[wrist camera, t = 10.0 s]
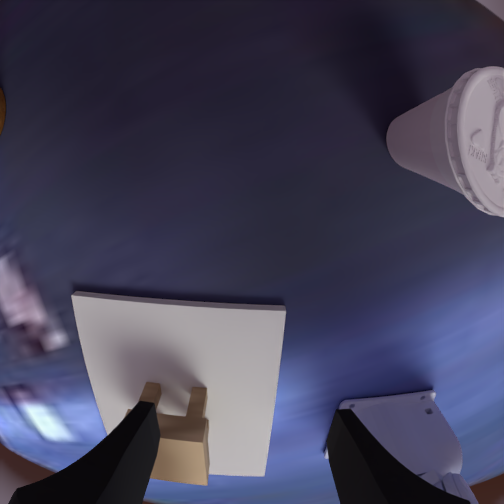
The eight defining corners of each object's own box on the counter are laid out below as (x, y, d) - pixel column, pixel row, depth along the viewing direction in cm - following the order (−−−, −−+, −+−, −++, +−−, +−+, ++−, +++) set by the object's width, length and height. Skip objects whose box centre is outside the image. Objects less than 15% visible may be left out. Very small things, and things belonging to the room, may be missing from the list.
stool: (211, 384, 22) (203, 442, 17) (213, 431, 24) (207, 485, 18) (141, 377, 22) (118, 430, 17) (150, 424, 24) (134, 475, 18)
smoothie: (462, 141, 18) (629, 157, 5) (415, 209, 19) (582, 288, 6) (401, 75, 17) (565, 13, 3) (347, 144, 18) (517, 138, 5)
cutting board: (284, 305, 21) (286, 310, 21) (264, 470, 27) (264, 476, 26) (76, 290, 21) (71, 295, 20) (119, 454, 26) (117, 459, 26)
